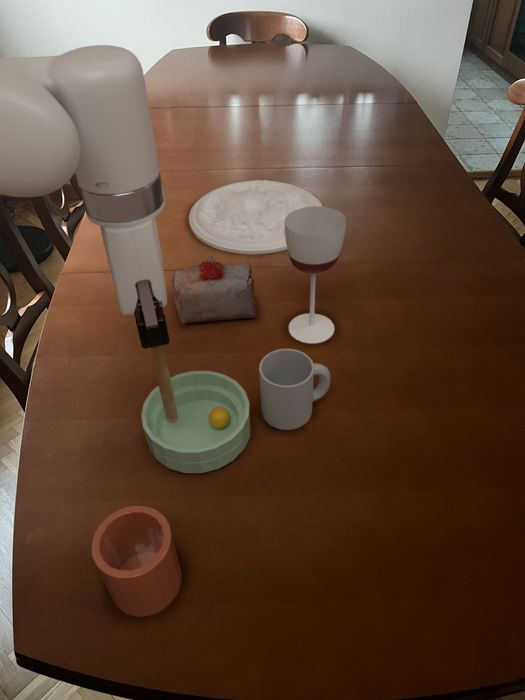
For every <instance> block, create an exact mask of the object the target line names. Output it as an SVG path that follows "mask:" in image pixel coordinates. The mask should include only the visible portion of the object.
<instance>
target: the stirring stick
mask: <svg viewBox="0 0 525 700" xmlns="http://www.w3.org/2000/svg"><path fill="white" fill-rule="evenodd" d="M154 308H155V309H156V306H155V305H154ZM141 311H143V310H142V308H141ZM149 351H150V354H151V359H152V363H153V367H154V371H155V377H156V381H157V384H158V385H159V389H160V394H161V398H162V403H163V407H164V411H165V416H166V420H167V422H169V423H175V422H177V421H178V413H177V408H176V403H175V398H174V393H173V388H172V384H171V379H170V378H171V375H170V370H169V364H168V360H167V355H166V350H165V345H161V346H156V347H152V348H149ZM158 385H157V386H158Z"/></svg>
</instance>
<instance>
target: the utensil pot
mask: <svg viewBox="0 0 525 700" xmlns="http://www.w3.org/2000/svg"><path fill="white" fill-rule="evenodd" d="M91 557H92V559H93V561H94V564H95V565H96V567H97V571H98V573H99V575H100V577H101V579H102V581H103V583H104V585H105V587H106V589H107V591H108V594H109V596H110V597H111V600H112V602H113V604H114V605H115V606H116V608H117V609H118V610H119V611H121V612H122V613H124V614H126V615H128V616H131V617H139V618H143V617H144V618H145V617H150V616H153V615H155V614H157V613H160V612H162V611H163V610H164V609H166V608H167V607H168V606H169V605H171V603H172V602H173V601H174V600H175V598H176V597H177V595H178V593H179V591H180V589H181V585H182V581H183V580H182V579H183V578H182V576H183V573H182V568H181V564H180V563H181V562H180V559H179V556H178V552H177V547H176V544H175V540H174V537H173V534H172V529H171V526H170V523H169V521H168V520H167V518H166V516H165V515H164V514H162V513H161V512H160V511H159V510H157V509H155V508H153V507H149V506H146V505H131V506H126V507H123V508H119V509H118V510H116V511H114V512H112V513H111V514H109V515H108V516H107V517H106V518H105V519H103V520H102V522H101V523H100V524H99V526H98V527H97V529H96V530H95V532H94V534H93V538H92V541H91Z"/></svg>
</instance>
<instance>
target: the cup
mask: <svg viewBox="0 0 525 700" xmlns="http://www.w3.org/2000/svg"><path fill="white" fill-rule="evenodd" d="M258 371H259V373H258V375H259V393H260V395H259V396H260V411H261V415H262V418H263V420H264V421H265V422H266V423H267V424H268V425H269V426H271V427H273V428H274V429H276V430H277V429H278V430H281V431H292V430H297V429H299V428H301V427H303V426H304V425H305V424H307V423H308V422H309V420H310V419H311V417H312V415H313V402H317V401H318V400H320V399H322V398H323V397H324V396H325V395H326V394H327V393H328V391H329V389H330V386H331V373H330V370H329V368H328V366H325V365H324V364H321V363H314V362H313V360H312V358H311V357H310V356H309V355H307V354H306V353H305V352H303V351H301V350H299V349H293V348H280V349H279V348H278V349H276V350H273V351H271V352H269V353H267V354H265V356H263V358H262V359H261V361H260V363H259V368H258ZM314 376H315V377H316V376H317V377H318V383H317V385H316V386H315V388H314V379H315V377H314Z"/></svg>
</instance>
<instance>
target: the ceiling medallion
mask: <svg viewBox="0 0 525 700" xmlns="http://www.w3.org/2000/svg"><path fill="white" fill-rule="evenodd" d="M312 206H320V207H324V206H323V204H322V203H321V201H320V200H319V199H318V198H317V197H316V196H315V195H314V194H312V193H311V192H309V191H308V190H306V189H304V188H301V187H299V186H297V185H294V184H291V183H286V182H282V181H275V180H267V179H263V180H262V179H261V180H260V179H255V180H245V181H239V182H233V183H229V184H226V185H223V186H220V187H217V188H215V189H213V190H212V191H210V192H208V193H206V194H205V195H203V196H201V197H200V198H199V199H197V201H196V202H195V203H194V204H193V206H192V207H191V209H190V211H189V214H188V222H189V228H190V230H191V232H192V233H193V235H194V236H195V237H196V238H197V239H198V240H199V241H201V242H203V243H204V244H206V245H207V246H210V247H211V248H214V249H217V250H220V251H223V252H227V253H233V254H240V255H265V254H273V253H278V252H279V253H280V252H283V251H286V250H287V251H288V249H287V244H286V238H285V218H286V216H287V215H288V214H289V213H291V212H293V211H295V210H297V209H300V208H304V207H312Z"/></svg>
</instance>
